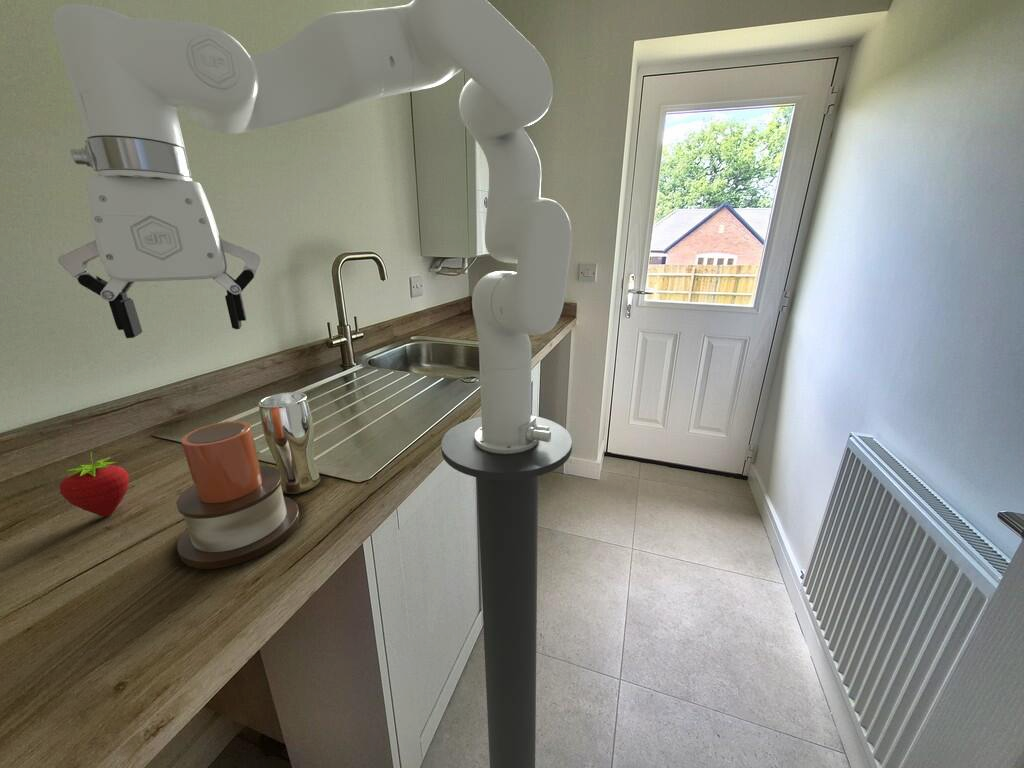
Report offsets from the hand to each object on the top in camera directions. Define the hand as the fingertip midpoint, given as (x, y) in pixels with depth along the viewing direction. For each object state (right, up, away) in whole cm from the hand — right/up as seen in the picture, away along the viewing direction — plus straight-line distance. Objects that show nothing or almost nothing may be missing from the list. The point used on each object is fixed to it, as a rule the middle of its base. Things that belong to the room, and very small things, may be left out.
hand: (188, 331), depth 47 cm
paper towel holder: (0, -26, +9) cm, 28 cm away
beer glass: (+2, -23, +20) cm, 31 cm away
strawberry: (-22, -26, +13) cm, 36 cm away
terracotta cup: (0, -20, +7) cm, 21 cm away
